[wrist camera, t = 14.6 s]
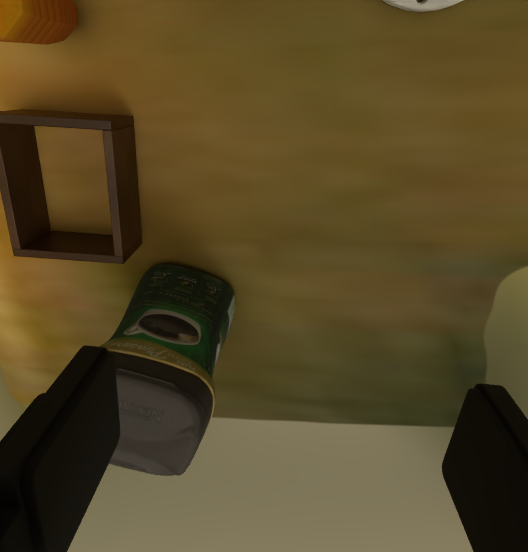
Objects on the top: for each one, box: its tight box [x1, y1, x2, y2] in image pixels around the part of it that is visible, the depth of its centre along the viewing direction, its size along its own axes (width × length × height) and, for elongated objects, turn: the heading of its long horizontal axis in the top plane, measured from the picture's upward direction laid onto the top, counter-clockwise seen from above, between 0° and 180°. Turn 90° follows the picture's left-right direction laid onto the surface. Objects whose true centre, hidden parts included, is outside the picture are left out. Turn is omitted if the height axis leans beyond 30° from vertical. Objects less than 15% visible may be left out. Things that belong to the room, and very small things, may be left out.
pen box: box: [0, 109, 142, 264], centre depth 35 cm, size 11×9×5 cm
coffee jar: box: [99, 264, 235, 476], centre depth 34 cm, size 10×8×19 cm
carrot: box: [0, 0, 78, 44], centre depth 26 cm, size 5×5×15 cm
